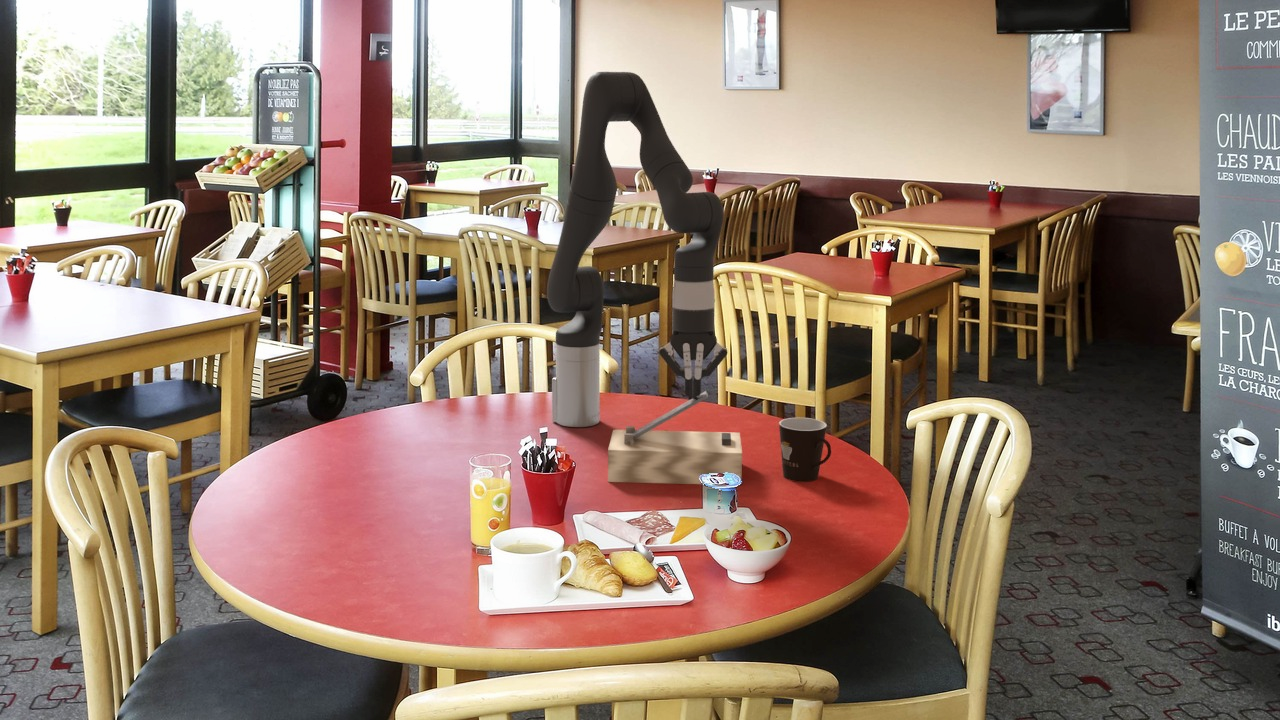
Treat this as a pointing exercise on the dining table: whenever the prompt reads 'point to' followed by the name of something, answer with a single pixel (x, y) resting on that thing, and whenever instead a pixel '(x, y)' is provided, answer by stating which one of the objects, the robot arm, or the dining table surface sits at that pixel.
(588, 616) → the dining table surface
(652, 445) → the tea crate
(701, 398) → the strap
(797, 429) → the coffee mug
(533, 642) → the dining table surface
